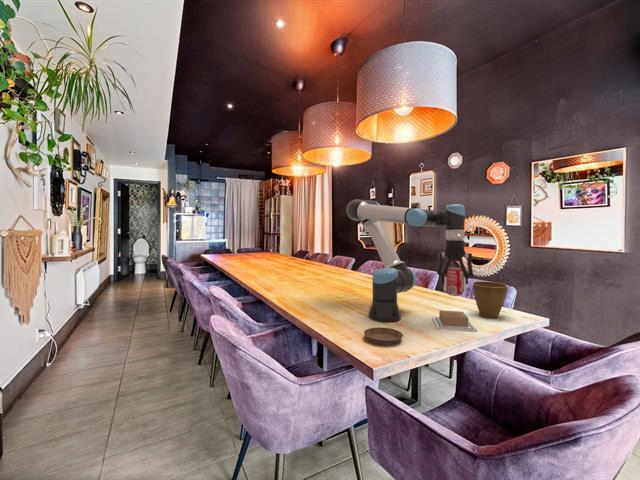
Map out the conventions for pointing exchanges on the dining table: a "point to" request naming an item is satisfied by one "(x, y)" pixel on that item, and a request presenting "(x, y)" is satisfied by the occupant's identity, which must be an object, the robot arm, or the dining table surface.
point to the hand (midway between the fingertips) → (454, 291)
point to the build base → (453, 321)
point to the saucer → (383, 335)
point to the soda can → (454, 281)
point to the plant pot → (489, 297)
